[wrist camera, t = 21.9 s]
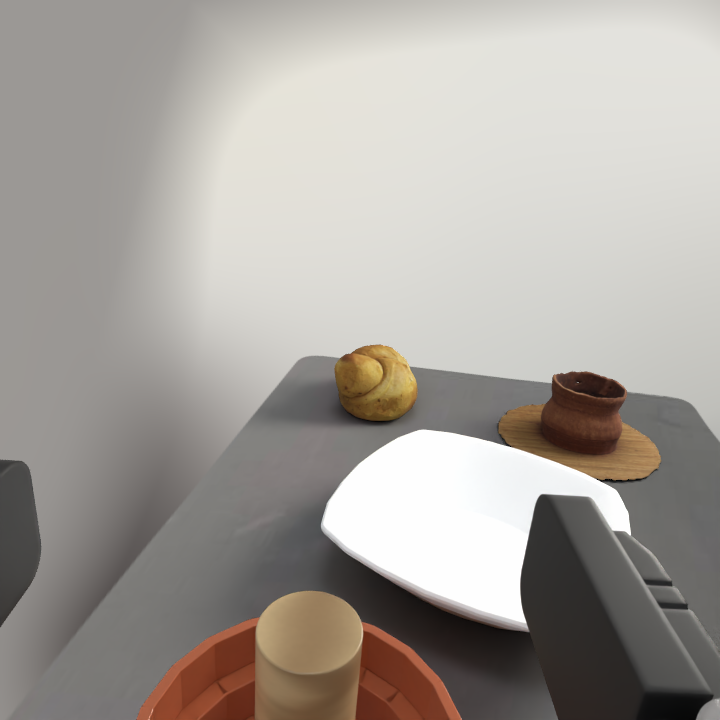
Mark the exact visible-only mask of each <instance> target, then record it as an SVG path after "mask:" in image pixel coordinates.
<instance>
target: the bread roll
mask: <svg viewBox="0 0 720 720" xmlns="http://www.w3.org/2000/svg"><path fill="white" fill-rule="evenodd" d="M334 369H335V378H336V383H337V387H338V391H339V398H340V402H341V404H342V405H343V407H344V408H345V410H346V411H347V412H348V413H351V414H352V415H354V416H356V417H358V418H361V419H366V420H372V421H386V420H394V419H397V418H399V417H401V416H403V415H404V414H405V413H406V412H408V411H409V410H410V409H411V408H412V407H413V405H414V403H415V401H416V398H417V384H416V380H415V378H414V376H413V374H412V372H411V370H410V367H409V364H408V363H407V361H406V359H405V358H404V357H402V356H401V355H400V354H399V353H398V352H396V351H395V350H394V349H393V348H391V347H388V346H383V345H370V346H364V347H361V348H358V349H356V350H355V351H353V352H352V353H351V354H346V355H344V356H343V357H341V358H340V359H339V361H338V362H337V363H336V365H335V368H334Z"/></svg>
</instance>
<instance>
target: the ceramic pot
mask: <svg viewBox="0 0 720 720" xmlns="http://www.w3.org/2000/svg"><path fill="white" fill-rule="evenodd" d="M577 382H579V383H577ZM626 396H627V391H626V389H625V388H624V387H623V386H622V385H621V384H620V383H618V382H617V381H615V380H613V379H608V378H606V377H603V376H600V375H597V374H594V373H591V372H569V373H566V374H563V373H561V374H557V375H553V378H552V397H551V399H550V400H549V401H548V402H547V403H546V404H542V405H530V406H529V405H527V406H522V407H519V408H517V409H514V410H509V411H507V415H504V416H503V417H502V418H501V421H499V425H498V427H499V431H498V433H499V434H501V435H502V436H501V437H502V438H504V439H505V442H506V443H508V444H509V445H511V446H512V447H513V448H515V449H519V450H521V451H524V452H527V453H530V454H533V455H536V456H539V457H542V458H545V459H548V460H551V461H554V462H556V463H559V464H561V465H564V466H566V467H569V468H572V469H574V470H577V471H579V472H582V473H584V474H586V475H588V476H590V477H593V478H597V479H600V480H605V478H607V479H613V480H620V479H621V480H627V479H632V480H635V478H644V477H646V476H649V474H650V473H651V472H652V471H654V470H655V469H656V468H659V467H658V466H659V463H660V462H661V460H660V457H661V456H660V455H659V452H658V449H657V448H656V446H655V444H654V443H653V442H651V441H650V439H649V438H648V437H646V436H644V435H642V434H641V433H640V432H639V431H637V430H636V429H633V428H631V426H629V425H627V424H624V423H622V421H621V417H620V415H619V413H618V410H619V409H620V407H621V406H622V404H623V403H624V401H625V399H626Z"/></svg>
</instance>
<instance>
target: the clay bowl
mask: <svg viewBox="0 0 720 720" xmlns="http://www.w3.org/2000/svg"><path fill="white" fill-rule="evenodd" d="M259 618H260V617H258V618H253V619H250V620H247V621H244V622H242V623H240V624H238V625H235V626H233V627H231V628H229V629H226V630H224V631H222V632H220V633H217V634H215V635H213V636H211V637H209V638H207V639H206V640H204V641H203V642H202V643H201V644H199V645H198V646H197V647H196V648H194V649H193V650H192V651H190V652H189V653H188V654H187V655H185V656H184V657H183V658H182V659H180V660H179V661H178V662H176V663H175V664H174V665H173V666H172V667H171V668H170V669H169V671H168V672H167V673H166V675H165V676H164V677H163V679H162V680H161V681H160V683H159V684H158V685H157V687H156V688H155V689H154V691H153V692H152V693H151V695H150V696H149V697H148V699H147V700H146V701H145V703H144V704H143V705H142V707H141V708H140V711H139V714H138V716H137V719H136V720H255V637H256V626H257V623H258V620H259ZM361 623H362V627H363V642H362V652H361V663H360V673H359V684H358V694H357V705H356V716H355V720H462V719H461V717H460V715H459V713H458V711H457V709H456V707H455V705H454V703H453V701H452V699H451V697H450V695H449V693H448V691H447V689H446V687H445V685H444V683H443V682H442V681H441V679H440V678H439V677H438V676H437V675H436V674H435V673H434V672H433V671H432V670H431V668H430V667H429V666H428V665H427V664H426V663H425V662H424V661H423V660H422V659H421V658H420V657H419V656H418V655H417V654H416V653H415V652H414V650H413V649H411V648H410V647H409V646H407V645H405V644H404V643H402V642H400V641H399V640H397V639H396V638H394V637H392V636H391V635H389V634H387V633H386V632H384V631H382V630H381V629H379V628H378V627H376V626H374V625H371V624H367V623H364V622H361Z"/></svg>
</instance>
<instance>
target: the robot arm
mask: <svg viewBox="0 0 720 720" xmlns="http://www.w3.org/2000/svg"><path fill="white" fill-rule="evenodd" d="M40 555H41V539H40V534H39V526H38V520H37V513H36V506H35V499H34V494H33V486H32V479H31V475H30V470H29V468H28V466H27V465H26V464H25V463H24V462H22V461H12V460H0V627H1V625H2V624H3V622H4V621H5V620H6V618H7V617H8V615H9V614H10V613H11V611H12V610H13V608H14V607H15V606H16V604H17V603H18V601H19V600H20V599H21V597H22V596H23V594H24V593H25V591H26V590H27V589H28V587H29V586H30V584H31V583H32V581H33V579H34V577H35V574H36V572H37V569H38V565H39V561H40ZM520 597H521V605H522V610H523V614H524V617H525V620H526V623H527V626H528V629H529V632H530V635H531V638H532V641H533V644H534V647H535V650H536V653H537V656H538V659H539V662H540V665H541V668H542V671H543V674H544V677H545V680H546V683H547V686H548V689H549V692H550V695H551V698H552V701H553V704H554V707H555V710H556V713H557V716H558V719H559V720H720V651H719V650H718V648H717V647H716V645H715V644H714V642H713V641H712V639H711V638H710V636H709V635H708V633H707V632H706V630H705V629H704V628H703V626H702V625H701V623H700V622H699V620H698V619H697V617H696V616H695V614H694V613H693V611H692V610H688V607H687V605H688V604H687V603H686V601H685V600H684V598H683V597H682V595H681V594H680V592H679V591H678V589H677V588H676V587H673V586H672V580H671V579H670V577H669V576H668V575H667V573H666V572H665V570H664V569H663V567H662V566H661V564H660V563H659V561H658V560H657V558H656V557H655V555H654V554H653V553H651V552H650V551H649V550H648V549H646V548H645V547H644V546H643V545H642V544H640V543H639V542H638V541H637V540H635V539H634V538H633V537H632V536H630V535H629V534H628V533H627V532H626V531H613V530H612V529H611V527H610V526H609V524H608V522H607V521H606V519H605V517H604V516H603V514H602V513H601V511H600V509H599V508H598V506H597V505H596V503H595V502H594V500H593V499H592V498H590V497H586V496H569V495H553V494H541V495H540V496H539V497H538V499H537V501H536V504H535V508H534V512H533V517H532V522H531V527H530V531H529V536H528V541H527V546H526V550H525V555H524V560H523V565H522V569H521V576H520Z"/></svg>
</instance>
